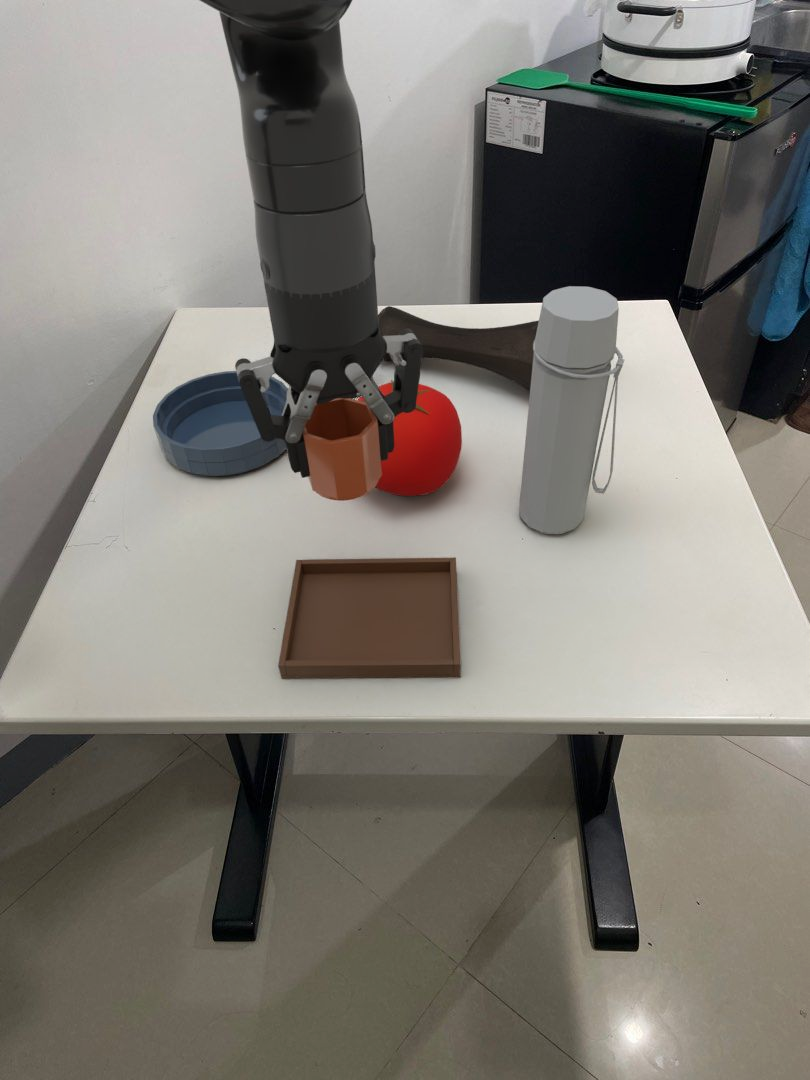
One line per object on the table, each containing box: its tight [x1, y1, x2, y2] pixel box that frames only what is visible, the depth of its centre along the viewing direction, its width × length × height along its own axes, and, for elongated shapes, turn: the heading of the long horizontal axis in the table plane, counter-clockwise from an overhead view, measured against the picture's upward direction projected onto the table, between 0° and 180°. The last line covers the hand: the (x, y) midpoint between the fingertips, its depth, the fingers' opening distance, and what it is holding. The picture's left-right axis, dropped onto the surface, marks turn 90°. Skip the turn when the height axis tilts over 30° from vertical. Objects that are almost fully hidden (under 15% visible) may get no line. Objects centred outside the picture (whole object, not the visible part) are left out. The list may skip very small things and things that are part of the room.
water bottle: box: [518, 285, 625, 535], centre depth 72 cm, size 9×8×25 cm
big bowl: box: [152, 370, 289, 477], centre depth 92 cm, size 17×17×4 cm
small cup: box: [302, 398, 382, 502], centre depth 60 cm, size 6×6×6 cm
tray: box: [277, 556, 462, 680], centre depth 70 cm, size 16×13×2 cm
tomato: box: [357, 379, 463, 497], centre depth 82 cm, size 13×14×12 cm
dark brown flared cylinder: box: [378, 305, 539, 392], centre depth 100 cm, size 11×10×28 cm
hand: (342, 462), depth 61 cm, fingers closed on small cup, 6 cm apart
